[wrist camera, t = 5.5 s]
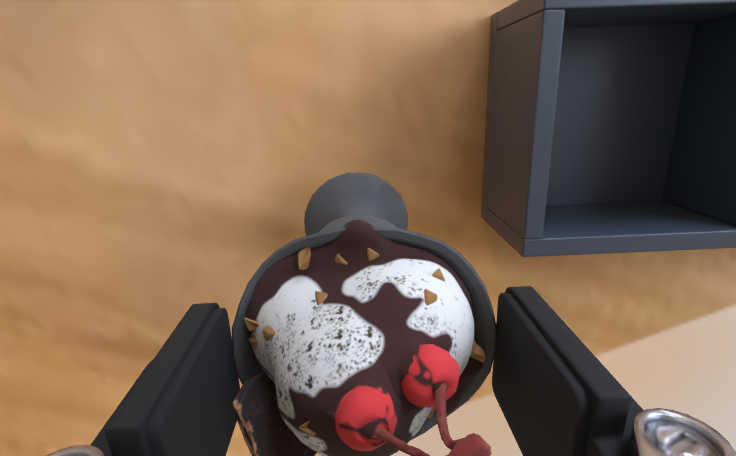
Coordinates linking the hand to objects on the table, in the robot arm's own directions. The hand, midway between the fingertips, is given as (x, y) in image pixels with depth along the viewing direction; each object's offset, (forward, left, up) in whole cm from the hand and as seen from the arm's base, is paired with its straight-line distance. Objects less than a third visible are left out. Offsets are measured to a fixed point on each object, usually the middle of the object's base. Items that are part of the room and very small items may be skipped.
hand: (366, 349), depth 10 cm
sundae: (0, 0, -10) cm, 10 cm away
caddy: (+16, +4, -13) cm, 21 cm away
